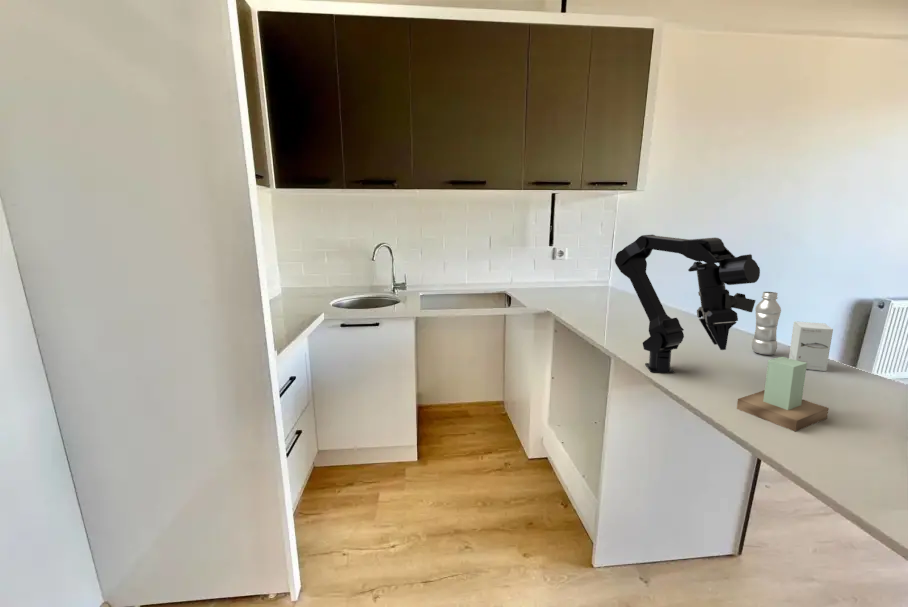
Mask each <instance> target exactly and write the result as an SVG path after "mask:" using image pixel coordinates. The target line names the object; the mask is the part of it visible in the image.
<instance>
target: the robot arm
mask: <svg viewBox="0 0 908 607" xmlns="http://www.w3.org/2000/svg"><path fill="white" fill-rule="evenodd" d="M653 250H656V251H660V252H661V251H662V252H666V253H668V252H669V253H674V254H680V255H682V256H684V257H685V258H688V259H689V260H692V261H694V262H693V264H692V265H691V266H690V267H689V268H688V269H687V270H688V272H696V276H697V282H698V292H697V293H698V296H699V299H700V305H701V306H699V307H698V309H696V317H697V318H698V321H699V322H700V324H701V326H702V327H703V328H704V330H705V331H706V333H707V336H708V337H709V338H710V340H711V342H712V344H713V345H717V346H718V348H719V350H720V351H725V350H727V346H728V345H727V344H728V338H729V331H730V329H731V328H732V327H733V326H734V325H736V323H737V321H739V316H738V313H737V311H735V310H733V309H738V310H741V311H745V312H748V313H753V311H754V307H755V303H756V300H757V299H752V298H748V297H747V298H746V294H745V293H740V292H736V293H735V294H734V295H731V294H730V290H728V289H727V288H726V285H727V286H733V285H734V286H735V285H746V284H755V283H757V282H758V280H759V278H760V276H761V270H760V266H759V264H758V263H757V261H756V260H754V259H753V255H752V254H751V253H749V254H742V255H740V256H736V255H734V254H733V253H732V252H731V251H730V250H729V249H728V248H727V247H726V246H725V243H724V242H723V241H722V239H721V238H719V237H706V238H693V239H686V238H679V237H671V236H663V235H662V236H661V235H655V234H643V235H640V236H638V237H637V239H635V241H632V242H631V243H630V244H628V245H626V246H625V247H624V248H623V249H621V250H619V251H618V252H617V253H616V256H615V258H614V262H615V265H616V267H617V269H618V270H619V271H620V273H621V274H623V275H624V276H625V277H627V278H628V279H629V281H630V282H631V285H632V286H633V289H634V291H635V293H636V294H637V297H638V300H639V302H640V303H641V305H642V307H643V310H644V312H645V314H646V316H647V318H648V322H649V325H648V334H649V337H648V338H646V339H645V340H644V341H643V342H642V346H643V350H645V351H648V352H649V357H648V358H649V359H648V363H647V362H646V363H644V365H645V367H646V368H647V369H648V371H649V372H650V373H665V372H674V373H675V370H674V369H673V368H672V367H671V360H672V351H674V350H677V349H678V348H679V345H680V344H682V342H683V341H684V338H685V335H684V330H685V329H684V327H682V326H681V324H680V320H679V318H678V317H673V318H672V317H670V316H669V315H668V314H667V313H666V311H665V309H664V306H663V305H662V303H661V300H660V298H659V296H658V294H657V292H656V289H655V288H654V286H653V284H652V282H651V280H650V278H649V276H648V274H647V268H648V264H647V258H648V257H649V256H650V255H651V254H652V251H653ZM703 262H704V263H703Z"/></svg>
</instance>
